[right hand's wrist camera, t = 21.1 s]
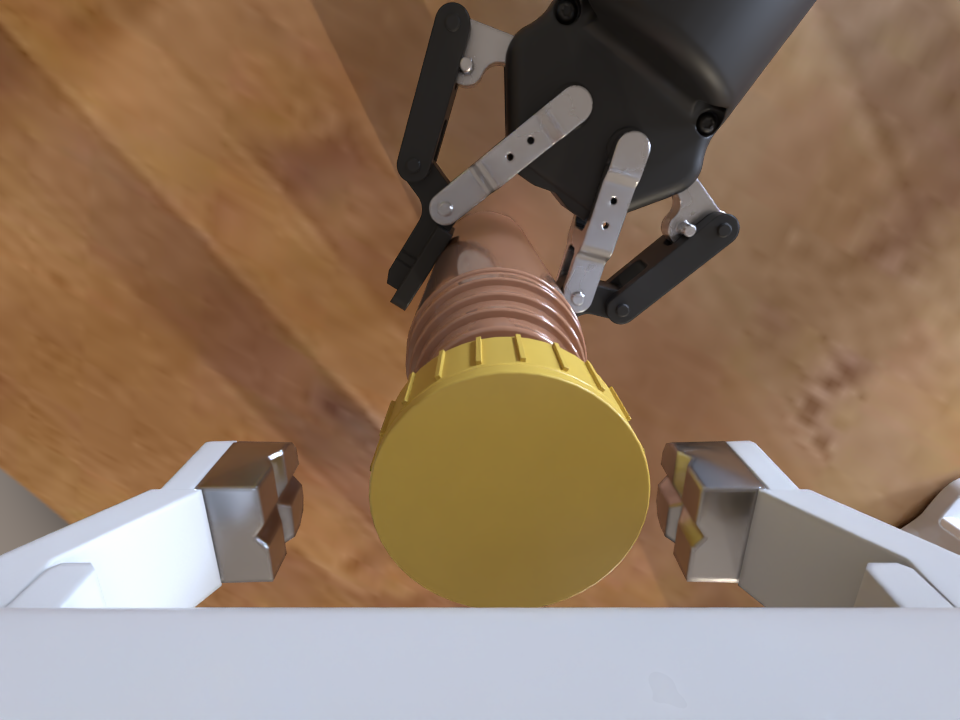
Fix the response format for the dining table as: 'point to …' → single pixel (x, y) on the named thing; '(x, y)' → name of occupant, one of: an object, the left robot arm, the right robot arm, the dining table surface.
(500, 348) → the cap
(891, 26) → the dining table surface
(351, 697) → the right robot arm
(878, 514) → the dining table surface
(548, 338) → the bottle
